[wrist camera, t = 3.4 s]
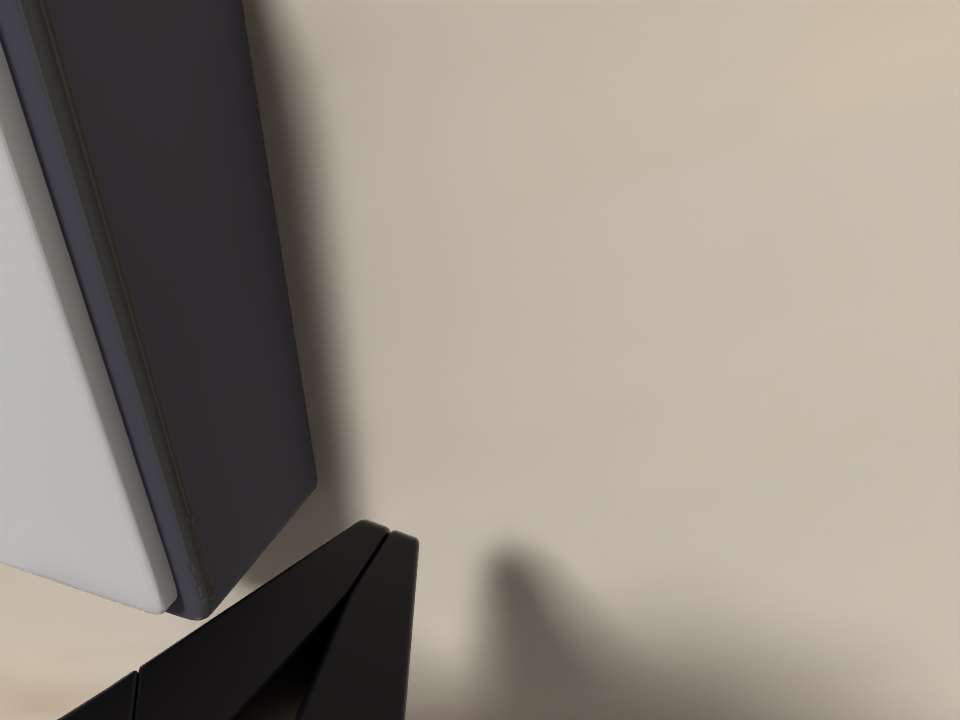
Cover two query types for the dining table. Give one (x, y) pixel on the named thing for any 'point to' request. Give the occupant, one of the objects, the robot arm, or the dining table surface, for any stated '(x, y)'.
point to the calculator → (141, 305)
